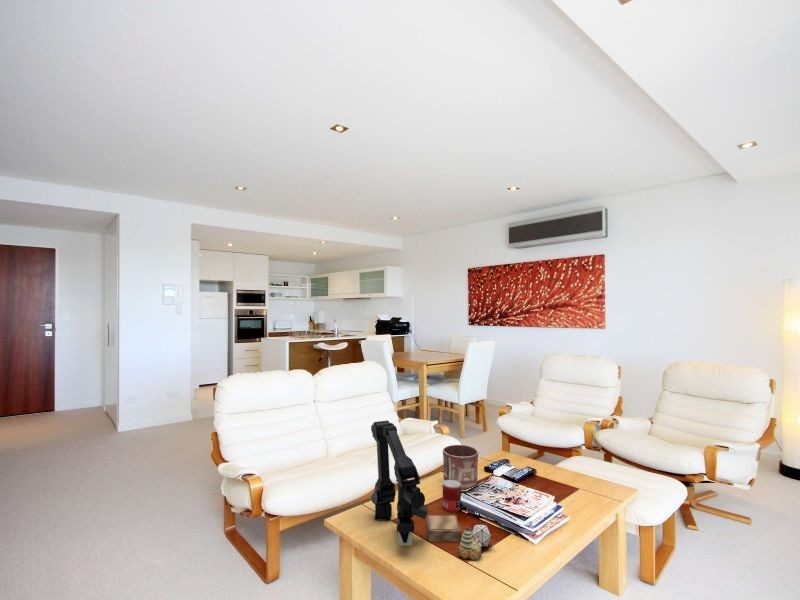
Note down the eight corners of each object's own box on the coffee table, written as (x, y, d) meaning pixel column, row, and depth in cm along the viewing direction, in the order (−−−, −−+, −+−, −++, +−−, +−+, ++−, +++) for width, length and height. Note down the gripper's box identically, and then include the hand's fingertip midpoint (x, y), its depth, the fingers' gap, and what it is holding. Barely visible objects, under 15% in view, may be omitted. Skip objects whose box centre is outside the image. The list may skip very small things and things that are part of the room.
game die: (483, 559, 158) (486, 546, 152) (463, 544, 162) (465, 531, 156) (495, 539, 164) (498, 526, 158) (475, 525, 168) (478, 512, 162)
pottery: (434, 486, 213) (434, 449, 213) (457, 476, 225) (458, 442, 225) (462, 498, 200) (463, 459, 200) (485, 488, 212) (486, 451, 212)
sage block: (398, 545, 160) (398, 531, 160) (398, 537, 165) (398, 524, 165) (411, 545, 160) (411, 531, 160) (411, 537, 165) (411, 524, 165)
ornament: (481, 552, 156) (481, 524, 156) (481, 562, 150) (481, 533, 150) (459, 549, 158) (459, 522, 158) (458, 559, 152) (458, 530, 152)
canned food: (460, 513, 185) (460, 487, 186) (441, 511, 187) (441, 485, 187) (461, 505, 193) (461, 480, 193) (443, 503, 195) (443, 478, 195)
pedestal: (428, 541, 163) (428, 530, 163) (426, 525, 175) (426, 514, 175) (460, 541, 163) (460, 530, 163) (456, 525, 175) (456, 514, 175)
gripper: (428, 508, 154) (428, 553, 154) (425, 486, 172) (424, 526, 172) (397, 508, 154) (396, 552, 154) (397, 486, 172) (396, 526, 172)
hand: (405, 538), depth 163 cm, fingers closed on sage block, 5 cm apart
